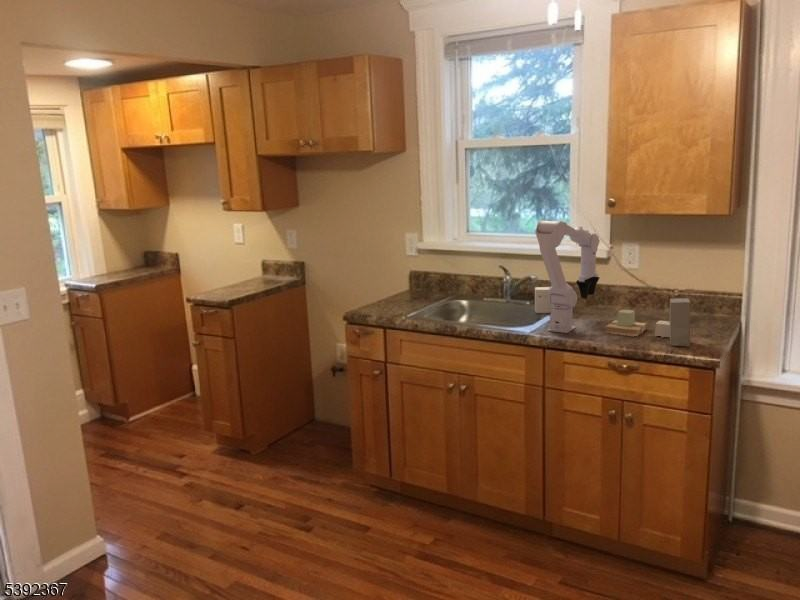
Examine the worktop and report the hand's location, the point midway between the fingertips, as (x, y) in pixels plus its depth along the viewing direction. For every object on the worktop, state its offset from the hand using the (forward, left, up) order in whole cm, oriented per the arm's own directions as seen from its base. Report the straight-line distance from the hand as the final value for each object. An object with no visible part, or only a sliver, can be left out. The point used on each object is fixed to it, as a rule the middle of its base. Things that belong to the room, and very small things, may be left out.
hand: (587, 296), depth 262 cm
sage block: (-8, -18, -8) cm, 21 cm away
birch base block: (-8, -18, -11) cm, 23 cm away
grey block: (-8, -32, -10) cm, 35 cm away
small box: (+8, +22, -11) cm, 26 cm away
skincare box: (-16, -39, -11) cm, 43 cm away
